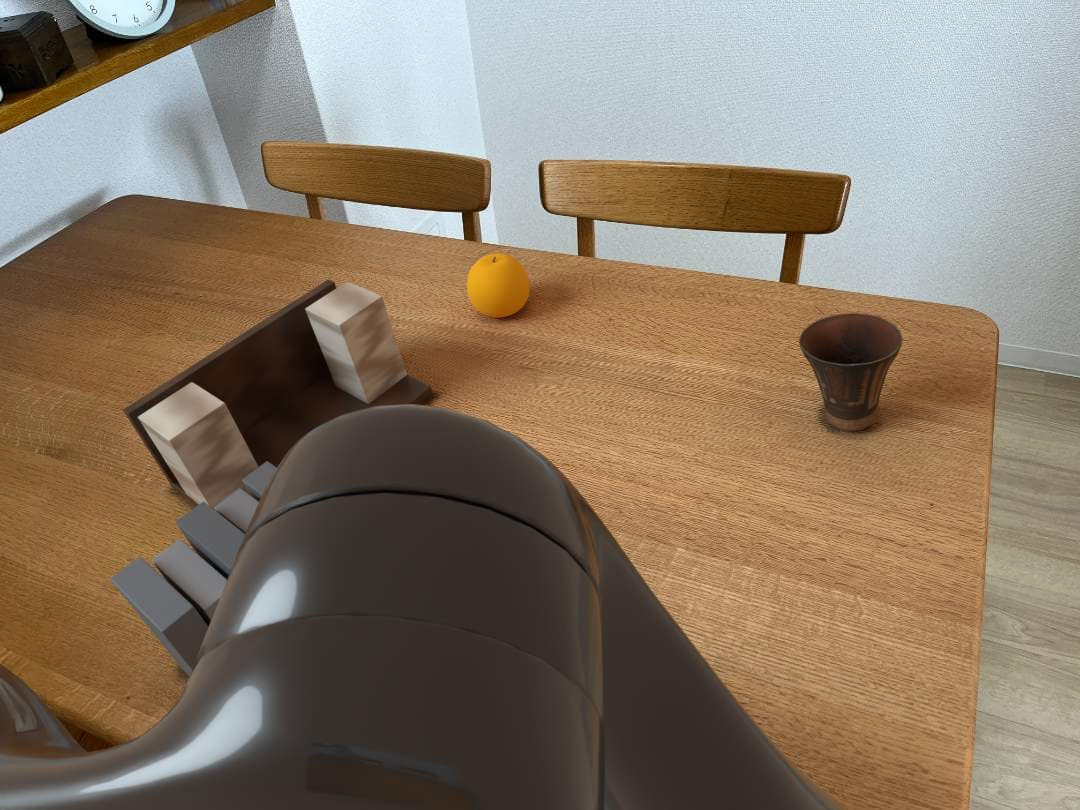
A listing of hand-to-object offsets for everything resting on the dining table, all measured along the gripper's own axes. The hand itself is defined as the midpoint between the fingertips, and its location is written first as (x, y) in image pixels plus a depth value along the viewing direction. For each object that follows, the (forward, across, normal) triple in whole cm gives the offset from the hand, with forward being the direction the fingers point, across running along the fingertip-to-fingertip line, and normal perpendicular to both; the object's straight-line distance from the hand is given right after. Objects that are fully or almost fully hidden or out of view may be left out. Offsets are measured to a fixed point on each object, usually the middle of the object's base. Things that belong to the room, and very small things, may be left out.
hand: (402, 695), depth 55 cm
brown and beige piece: (+36, -20, 0) cm, 41 cm away
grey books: (+20, -2, +5) cm, 20 cm away
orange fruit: (+30, -50, 0) cm, 58 cm away
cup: (-13, -49, +8) cm, 51 cm away
